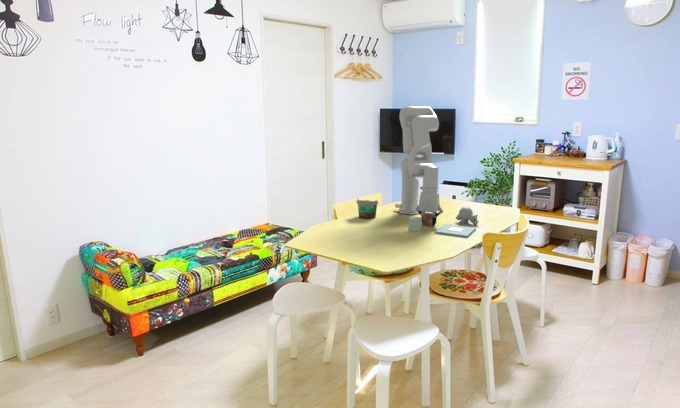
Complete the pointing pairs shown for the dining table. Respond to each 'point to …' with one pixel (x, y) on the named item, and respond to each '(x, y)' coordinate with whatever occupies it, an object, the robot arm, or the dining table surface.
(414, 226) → the sage block
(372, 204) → the food container
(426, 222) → the walnut block
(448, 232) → the build board
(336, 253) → the dining table surface
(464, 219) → the chubby cartoon animal
